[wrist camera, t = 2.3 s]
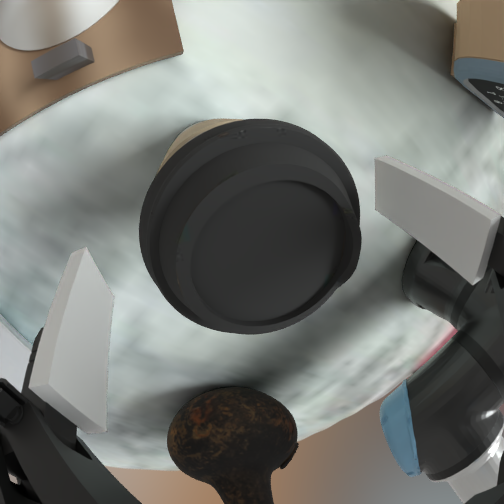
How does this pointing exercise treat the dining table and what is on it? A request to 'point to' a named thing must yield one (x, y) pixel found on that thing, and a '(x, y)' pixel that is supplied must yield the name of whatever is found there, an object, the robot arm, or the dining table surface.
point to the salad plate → (13, 354)
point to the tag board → (75, 48)
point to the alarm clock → (480, 50)
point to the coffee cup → (250, 224)
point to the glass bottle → (233, 442)
